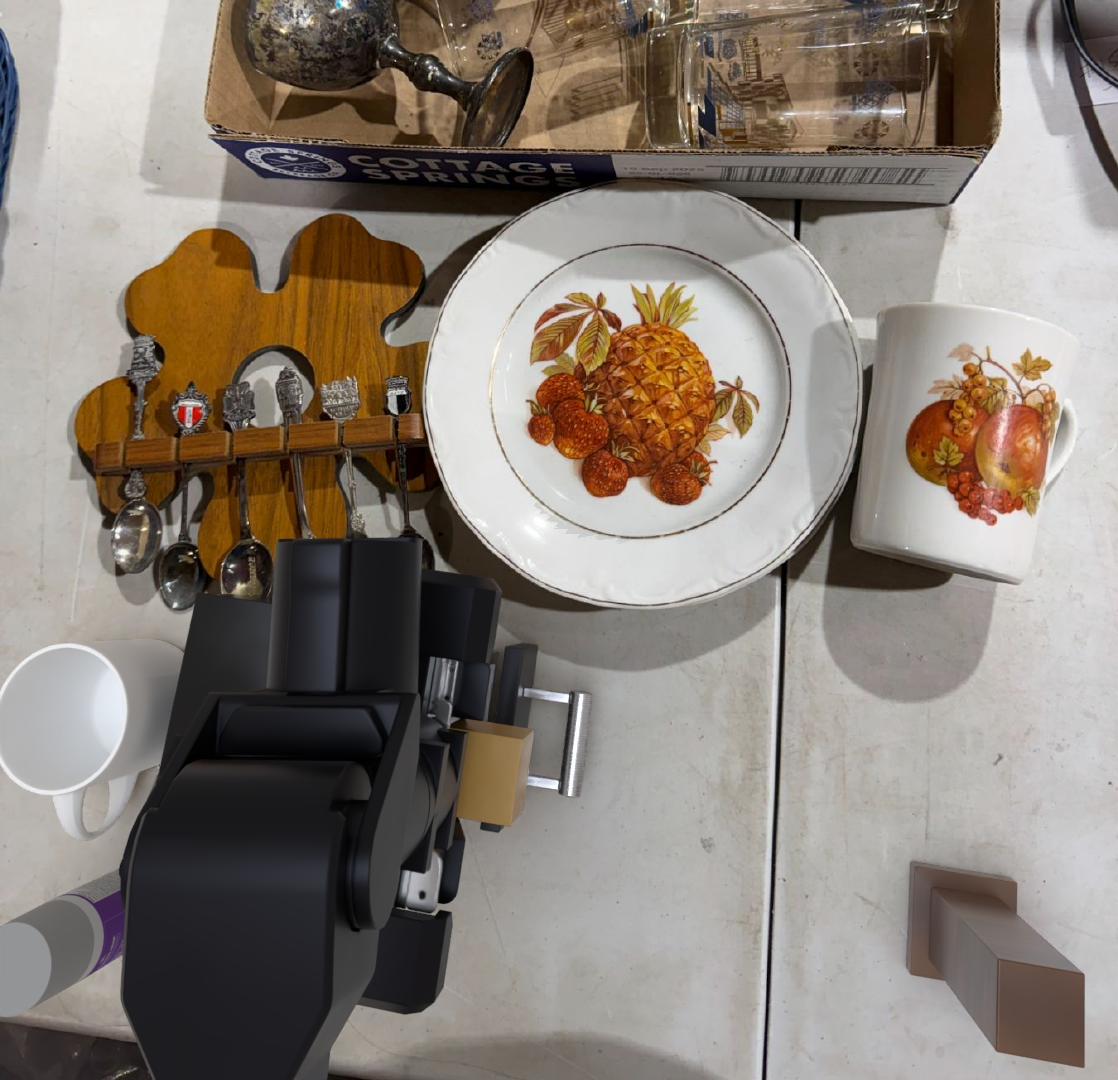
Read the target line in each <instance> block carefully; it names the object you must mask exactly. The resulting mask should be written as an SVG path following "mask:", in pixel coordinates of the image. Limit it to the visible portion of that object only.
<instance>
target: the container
mask: <svg viewBox="0 0 1118 1080" xmlns="http://www.w3.org/2000/svg"><path fill="white" fill-rule="evenodd" d="M120 884H121V878H120V876H119V868H117V869H115V870H113V871H110V872H108V873H106V874H104V875H102V876H100V877H97V878H95V879H92V880H90V881H89V882H86V883H85V884H82V885H80V886H77V887H75V888H73V889H71V890H69V891H67V892H65V893H62V894H61V895H58V896H56V897H54V898H51V899H50V900H47V901H46V902H44V903H43V904H41V905H38V906H36V907H34V908H32V909H31V910H29V911H27V912H24V913H23V914H21V915H18V916H17V917H15V918H13V919H11V920H9V921H8V922H5V923H3V924H1V925H0V1017H1V1018H14V1017H17V1016H20V1015H23V1014H25V1013H27V1012H28V1011H30V1010H32V1009H34V1008H36V1007H37V1006H39V1005H40V1004H42V1003H44V1002H46V1001H48V1000H49V999H51V998H53V997H55V996H56V995H58V994H60V993H62V992H63V991H65V990H67V989H69V988H70V987H72V986H74V985H75V984H78V983H79V982H82V981H83V980H85V979H87V978H88V977H89V976H91V975H92V974H94V973H96V972H98V971H99V970H101V969H102V968H103V967H105V966H107V965H108V964H111V963H112V962H114V961H115V960H117V959H118V958H120V957H122V956H123V941H124V925H125V911H124V909H123V904H122V899H121V893H120Z"/></svg>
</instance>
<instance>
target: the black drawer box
mask: <svg viewBox="0 0 1118 1080" xmlns="http://www.w3.org/2000/svg"><path fill="white" fill-rule="evenodd" d="M250 595H251V594H246V595H243V593H242V594H240V593H217V592H216V593H215V592H211V593H210V592H196V595H195V598H194V605H193V609H192V612H191V613H192V614H191V618H190V622H189V627H188V631H187V632H188V633H187V637H186V642H185V646H184V651H183V652H184V655H183V660H182V665H181V670H180V674H179V679H178V684H177V688H176V693H175V698H174V703H173V707H172V712H171V717H170V721H169V726H168V731H167V736H166V740H165V745H164V750H163V754H162V759H161V764H159V769H158V772H159V771H160V769H161V766H162V764H163V762H164V760H165V757H166V755H167V753H168V751H169V748H170V746H171V744H172V742H173V739H174V737H175V735H185V733H186V731H187V729H188V728H189V726H190V724H191V722H192V721H193V719H194V717H195V715H196V714H197V712H198V710H199V709H200V707H201V705H202V703H203V702H204V700H205V698H206V696H207V695H208V693H209V692H253V691H258V690H263V689H266V687H267V672H268V657H269V642H270V627H271V612H272V596H265V595H256V594H252V595H253V596H250ZM259 596H260V597H259Z"/></svg>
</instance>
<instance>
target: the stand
mask: <svg viewBox="0 0 1118 1080" xmlns="http://www.w3.org/2000/svg"><path fill="white" fill-rule="evenodd" d="M909 869H910V870H909V890H908V891H909V892H908V916H907V917H908V919H907V940H906V943H907V945H906V966H905V967H906V971H908V973H909V974H910V976H913V977H914V976H915V977H920V978H925V979H931V980H936V981H942V982H945V984H947V986H948V988H949V989H950V990H951V992H952V993H953V994H954V996H955V997H956V998H957V1000H958V1001H959V1002H960V1004H961V1005H962V1007H963V1008H964V1010H965V1011H966V1012H967V1014H968V1015H969V1017H970V1018H971V1019H972V1021H973V1022H974V1023H975V1024H976V1026H977V1027H978V1029H979V1030H980V1031H981V1033H982V1034H983V1035H984V1037H985V1038H986V1039H987V1041H988V1042H989V1044H990V1045H991V1046H992V1048H993V1049H994V1051H995V1052H996V1053H998V1054H1004V1055H1011V1056H1015V1057H1020V1058H1026V1059H1031V1060H1036V1061H1043V1062H1047V1063H1052V1064H1059V1065H1063V1066H1068V1067H1074V1068H1080V1069H1085V1067H1086V975H1085V973H1084V972H1083V971H1082V970H1081V969H1080V968H1079V967H1078V966H1077V965H1076V964H1074V963H1072V961H1071V960H1069V959H1068V958H1067V957H1066V956H1065V955H1064V954H1063V953H1061V952H1060V951H1059V949H1057V948H1056V947H1055V946H1054V945H1053V944H1051V943H1050V942H1049V941H1048V940H1047V939H1046V938H1045V937H1044V936H1043V935H1042V934H1040V933H1039V932H1038V931H1037V930H1036V929H1035V928H1034V927H1033V926H1031V925H1030V924H1029V923H1028V922H1027V921H1026V920H1024V918H1023V917H1021V916H1020V915H1019V914H1018V882H1017V881H1016V880H1014V879H1013V878H1012V877H1010V876H1004V875H1003V876H1002V875H996V874H990V873H984V872H978V871H972V870H967V869H960V868H954V867H948V866H941V865H936V864H931V863H924V862H918V861H910V868H909Z"/></svg>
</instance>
